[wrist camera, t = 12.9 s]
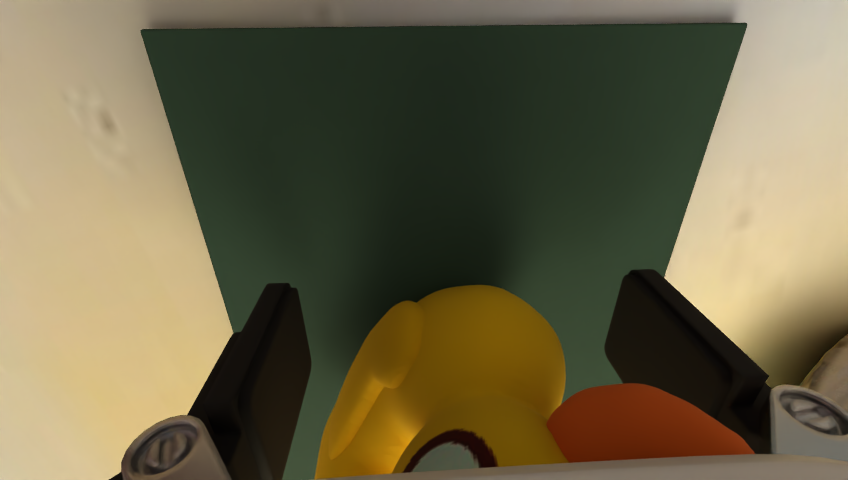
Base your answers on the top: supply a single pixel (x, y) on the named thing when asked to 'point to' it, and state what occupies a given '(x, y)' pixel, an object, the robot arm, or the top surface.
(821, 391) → the athletic shoe
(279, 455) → the robot arm
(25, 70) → the top surface
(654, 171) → the mat
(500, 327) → the duckling
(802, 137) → the top surface
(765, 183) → the top surface
